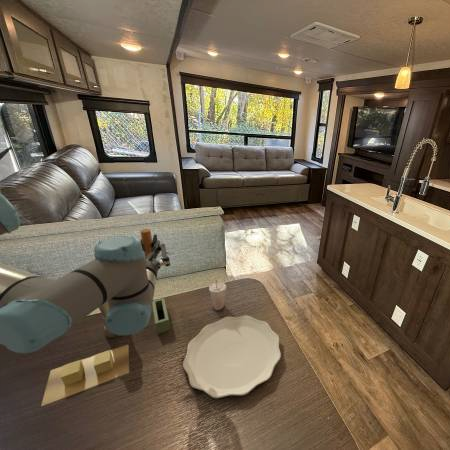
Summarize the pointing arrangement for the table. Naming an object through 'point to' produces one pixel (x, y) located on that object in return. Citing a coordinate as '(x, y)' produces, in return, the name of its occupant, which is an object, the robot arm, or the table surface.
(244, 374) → the plate
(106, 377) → the cutting board
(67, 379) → the butter left
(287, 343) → the table surface
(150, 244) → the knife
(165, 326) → the green rectangular holder
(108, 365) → the butter right
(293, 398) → the table surface
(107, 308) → the plastic bottle
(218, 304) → the smoothie
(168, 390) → the table surface
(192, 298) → the table surface
